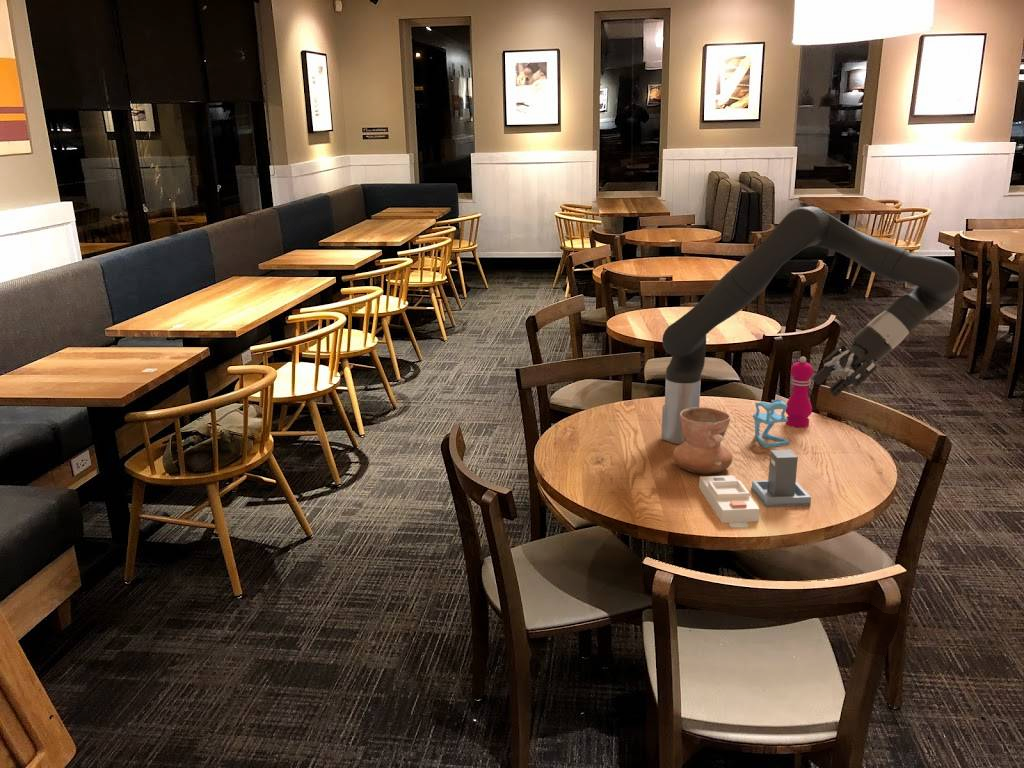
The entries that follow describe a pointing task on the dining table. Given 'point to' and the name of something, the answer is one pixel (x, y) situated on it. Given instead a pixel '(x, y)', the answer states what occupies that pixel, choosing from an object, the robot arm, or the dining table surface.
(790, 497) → the tray
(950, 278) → the robot arm
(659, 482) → the dining table surface
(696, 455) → the ceramic jug
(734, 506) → the white rectangular base
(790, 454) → the block
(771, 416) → the chair
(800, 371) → the pepper mill
